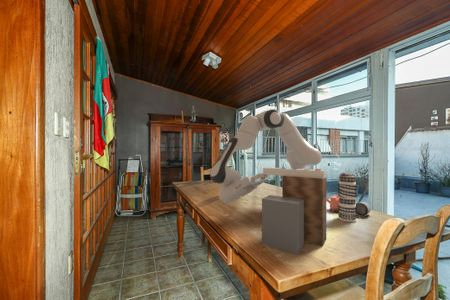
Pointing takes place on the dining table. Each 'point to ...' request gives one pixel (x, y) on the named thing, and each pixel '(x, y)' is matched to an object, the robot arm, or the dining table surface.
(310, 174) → the power strip
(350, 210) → the decorative candle
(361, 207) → the ceramic mug
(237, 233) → the dining table surface
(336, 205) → the teapot
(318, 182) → the walnut post
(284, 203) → the dark grey block
